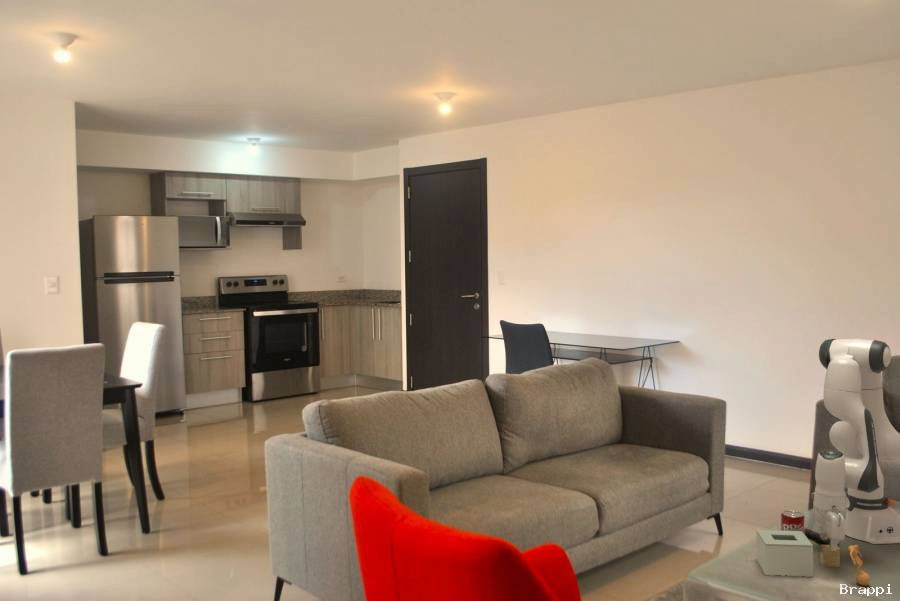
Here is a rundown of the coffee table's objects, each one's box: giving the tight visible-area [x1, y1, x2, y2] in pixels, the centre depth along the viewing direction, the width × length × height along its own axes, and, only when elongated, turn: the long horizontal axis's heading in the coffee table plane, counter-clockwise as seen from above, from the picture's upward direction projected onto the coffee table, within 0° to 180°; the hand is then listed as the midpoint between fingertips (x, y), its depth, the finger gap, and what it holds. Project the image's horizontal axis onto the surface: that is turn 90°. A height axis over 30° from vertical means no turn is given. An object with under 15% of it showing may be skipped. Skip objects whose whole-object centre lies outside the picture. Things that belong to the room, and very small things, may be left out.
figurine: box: [847, 544, 871, 587], centre depth 238 cm, size 8×6×12 cm
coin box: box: [756, 529, 814, 578], centre depth 251 cm, size 14×12×10 cm
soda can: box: [780, 509, 805, 534], centre depth 266 cm, size 7×7×12 cm
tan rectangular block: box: [819, 544, 841, 568], centre depth 252 cm, size 5×3×6 cm, turn 81°
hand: (828, 544), depth 252 cm, fingers open, 8 cm apart
